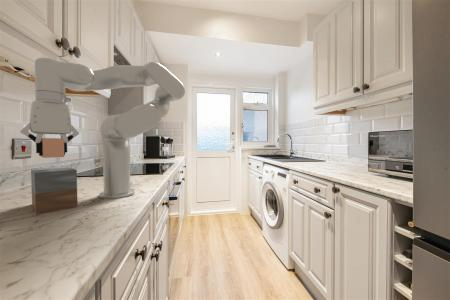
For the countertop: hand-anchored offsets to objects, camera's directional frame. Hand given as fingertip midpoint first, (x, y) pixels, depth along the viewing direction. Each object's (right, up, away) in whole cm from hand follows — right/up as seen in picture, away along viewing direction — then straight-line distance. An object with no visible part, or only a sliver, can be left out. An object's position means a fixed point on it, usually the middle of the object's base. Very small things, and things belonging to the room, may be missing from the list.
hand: (52, 154), depth 68 cm
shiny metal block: (0, -17, +1) cm, 17 cm away
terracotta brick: (0, -1, 0) cm, 1 cm away
